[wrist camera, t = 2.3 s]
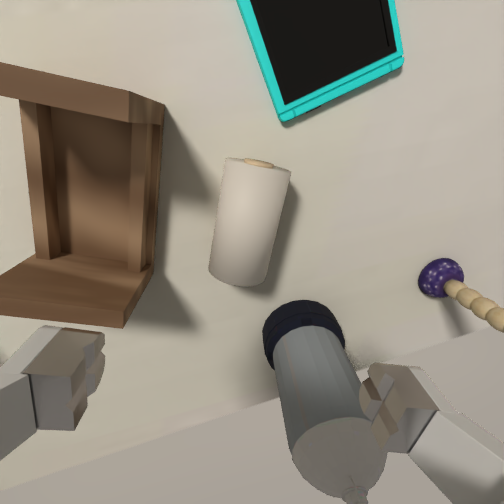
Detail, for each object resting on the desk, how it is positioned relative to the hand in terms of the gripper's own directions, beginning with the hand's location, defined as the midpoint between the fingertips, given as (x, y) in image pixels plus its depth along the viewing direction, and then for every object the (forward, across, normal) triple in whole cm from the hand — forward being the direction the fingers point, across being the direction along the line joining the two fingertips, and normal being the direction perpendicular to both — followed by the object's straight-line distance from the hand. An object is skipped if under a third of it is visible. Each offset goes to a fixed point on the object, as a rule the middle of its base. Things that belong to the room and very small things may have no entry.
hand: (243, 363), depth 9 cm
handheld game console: (+18, +2, +17) cm, 25 cm away
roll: (+17, 0, 0) cm, 17 cm away
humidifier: (+18, +9, -12) cm, 23 cm away
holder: (+17, -11, 0) cm, 21 cm away
